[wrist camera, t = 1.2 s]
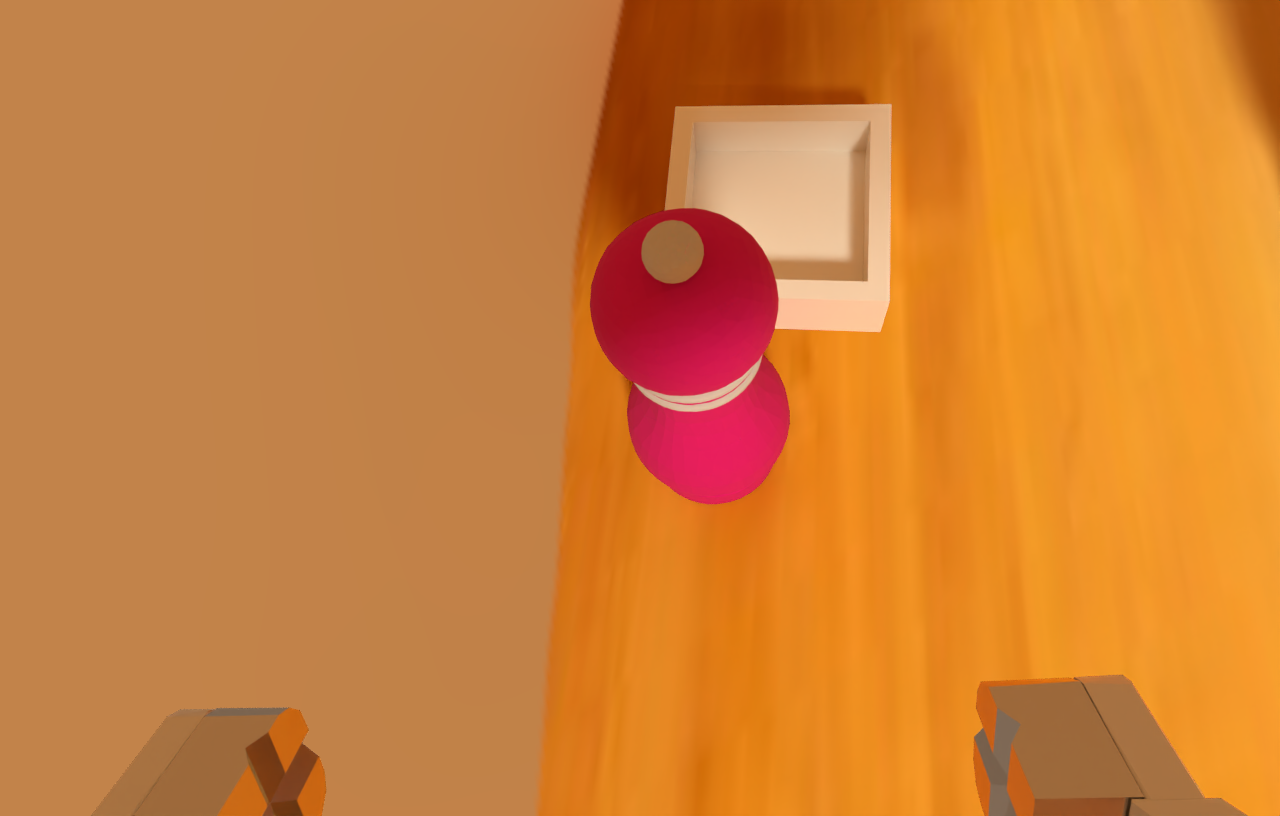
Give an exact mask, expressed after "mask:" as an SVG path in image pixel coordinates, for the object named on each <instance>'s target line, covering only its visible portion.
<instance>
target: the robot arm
mask: <svg viewBox="0 0 1280 816" xmlns="http://www.w3.org/2000/svg"><path fill="white" fill-rule="evenodd" d="M976 709H977V712H978V714H979V717H980V720H981V723H982V725H983V729H982V730H981V731H980V732H979V733H978V734H977V735H976V736H975V737H974V757H973V760H974V769H975V778H976V786H977V790H978V794H979V798H980V802H981V806H982V809H983V812H984V815H985V816H1248V815H1246V814H1245V813H1243V812H1242V811H1240V810H1238V809H1237V808H1235V807H1234V806H1232V805H1231V804H1229V803H1228V802H1226V801H1225V800H1223V799H1222V798H1205V797H1204V795H1203V793H1202V792H1201V790H1200V789H1199V787H1198V786H1197V784H1196V782H1195V781H1194V779H1193V778H1192V776H1191V775H1190V773H1189V771H1188V770H1187V768H1186V767H1185V765H1184V764H1183V762H1182V760H1181V759H1180V757H1179V756H1178V754H1177V753H1176V751H1175V749H1174V748H1173V746H1172V745H1171V743H1170V741H1169V740H1168V738H1167V737H1166V735H1165V734H1164V732H1163V730H1162V729H1161V727H1160V726H1159V724H1158V723H1157V721H1156V719H1155V718H1154V716H1153V715H1152V713H1151V712H1150V710H1149V708H1148V707H1147V705H1146V704H1145V702H1144V701H1143V699H1142V697H1141V696H1140V694H1139V693H1138V691H1137V690H1136V688H1135V686H1134V685H1133V683H1132V682H1131V681H1130V680H1129V679H1127V678H1126V677H1125V676H1123V675H1108V676H1087V677H1074V678H1073V679H1072V678H1049V679H1028V680H1006V681H984V682H981V683H980V685H979V688H978V691H977V702H976ZM308 731H309V730H308V727H307V725H306V723H305V720H304V718H303V716H302V714H301V712H300V710H296V709H292V708H217V709H203V710H202V709H193V710H192V709H190V710H188V709H186V710H185V709H184V710H178V711H177V712H175V713H173V714H171V715H170V716H168V717H167V718H166V719H165V720H164V721H163V723H162V724H161V725H160V726H159V728H158V729H157V730H156V732H155V733H154V734H153V736H152V737H151V738H150V740H149V741H148V742H147V744H146V745H145V746H144V747H143V749H142V750H141V751H140V753H139V754H138V755H137V756H136V758H135V759H134V760H133V762H132V763H131V764H130V766H129V767H128V768H127V770H126V771H125V772H124V773H123V775H122V776H121V777H120V779H119V780H118V781H117V783H116V784H115V785H114V786H113V788H112V789H111V791H110V792H109V793H108V794H107V796H106V797H105V798H104V800H103V801H102V802H101V803H100V805H99V806H98V808H97V809H96V810H95V811H94V813H93V814H92V815H91V816H322V811H323V805H324V800H325V794H326V781H325V772H324V769H323V766H322V763H321V760H320V758H319V756H318V755H317V754H315V753H314V752H313V751H311V750H310V749H309V748H308V747H306V746H305V745H303V744H302V743H303V741H304V739H305V736H306V735H307V733H308Z"/></svg>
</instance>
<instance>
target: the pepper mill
mask: <svg viewBox="0 0 1280 816" xmlns="http://www.w3.org/2000/svg"><path fill="white" fill-rule="evenodd" d="M778 305H779V297H778V290H777V283H776V279H775V276H774V273H773V269H772V266H771V264H770V262H769V260H768V258H767V256H766V255H765V253H764V251H763V249H762V248H761V246H760V245H759V244H758V243H757V241H756V240H755V239H754V237H753V236H752V235H751V234H750V233H749V232H747V231H746V230H745V229H744V228H743V227H742V226H740V225H739V224H737V223H736V222H734V221H732V220H730V219H729V218H727V217H725V216H724V215H721V214H718V213H715V212H711V211H708V210H704V209H698V208H678V209H671V210H664V211H661V212H658V213H655V214H652V215H649V216H647V217H645V218H643V219H640V220H638V221H636V222H634V223H633V224H632V225H630V226H629V227H628V228H626V229H625V230H624V231H623V232H621V233H620V234H619V235H618V236H617V237H616V238H615V239H614V240H613V242H612V243H611V244H610V245H609V246H608V247H607V249H606V250H605V252H604V254H603V256H602V257H601V259H600V261H599V264H598V266H597V269H596V272H595V275H594V278H593V282H592V285H591V299H590V310H591V317H592V322H593V326H594V330H595V334H596V337H597V340H598V342H599V344H600V346H601V348H602V350H603V352H604V353H605V355H606V356H607V358H608V359H609V361H610V362H611V363H612V364H613V365H614V366H615V367H616V368H617V369H618V370H619V371H620V372H621V373H622V374H623V375H624V376H625V377H626V378H627V379H628V380H630V381H632V382H634V383H633V385H632V389H631V392H630V395H629V400H628V408H627V416H628V425H629V432H630V436H631V440H632V443H633V446H634V448H635V451H636V453H637V455H638V456H639V458H640V460H641V462H642V463H643V464H644V465H645V467H646V468H647V469H648V470H649V472H651V473H652V474H653V475H654V476H655V477H656V478H657V479H659V480H660V481H661V482H663V483H664V484H666V485H667V486H669V487H670V488H671V489H672V490H674V491H675V492H676V493H678V494H679V495H681V496H683V497H685V498H687V499H689V500H692V501H695V502H699V503H705V504H720V503H726V502H731V501H734V500H737V499H740V498H742V497H744V496H745V495H747V494H749V493H750V492H752V491H753V490H755V489H756V488H757V487H758V486H759V485H760V484H761V483H762V482H763V481H764V479H765V478H766V477H767V475H768V474H769V472H770V470H771V468H772V466H773V464H774V463H775V462H776V460H777V458H778V457H779V455H780V453H781V451H782V449H783V447H784V444H785V442H786V439H787V435H788V430H789V424H790V411H789V405H788V399H787V395H786V391H785V387H784V385H783V383H782V380H781V378H780V376H779V374H778V372H777V371H776V369H775V368H774V366H773V365H772V364H771V363H770V361H769V360H768V359H767V358H766V357H765V356H764V355H763V353H764V351H765V349H766V348H767V346H768V344H769V343H770V340H771V338H772V335H773V332H774V329H775V325H776V320H777V315H778Z"/></svg>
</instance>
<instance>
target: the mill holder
mask: <svg viewBox="0 0 1280 816" xmlns="http://www.w3.org/2000/svg"><path fill="white" fill-rule="evenodd" d="M678 208H698V209H704V210H708V211H711V212H715V213H718V214H721V215H724V216H725V217H727V218H729V219H730V220H732V221H734V222H736V223H737V224H739V225H740V226H742V227H743V228H744V229H745V230H746V231H747V232H749V233H750V234H751V235H752V236H753V237H754V239H755V240H756V241H757V243H758V244H759V245H760V246H761V248H762V249H763V251H764V253H765V255H766V256H767V258H768V260H769V262H770V264H771V266H772V269H773V273H774V276H775V279H776V283H777V290H778V297H779V305H778V315H777V320H776V325H775V329H805V330H835V331H866V332H881V328H882V325H883V322H884V318H885V315H886V312H887V309H888V305H889V302H890V209H891V104H846V105H757V106H675V115H674V125H673V135H672V144H671V154H670V163H669V173H668V183H667V192H666V202H665V210H671V209H678Z"/></svg>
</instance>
